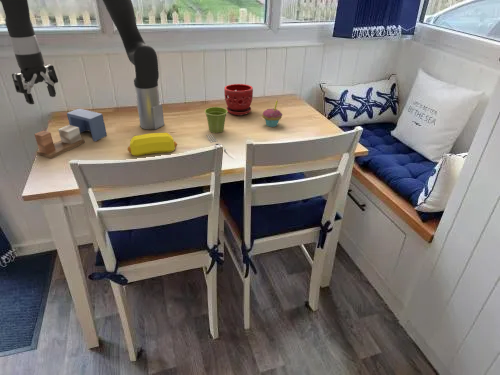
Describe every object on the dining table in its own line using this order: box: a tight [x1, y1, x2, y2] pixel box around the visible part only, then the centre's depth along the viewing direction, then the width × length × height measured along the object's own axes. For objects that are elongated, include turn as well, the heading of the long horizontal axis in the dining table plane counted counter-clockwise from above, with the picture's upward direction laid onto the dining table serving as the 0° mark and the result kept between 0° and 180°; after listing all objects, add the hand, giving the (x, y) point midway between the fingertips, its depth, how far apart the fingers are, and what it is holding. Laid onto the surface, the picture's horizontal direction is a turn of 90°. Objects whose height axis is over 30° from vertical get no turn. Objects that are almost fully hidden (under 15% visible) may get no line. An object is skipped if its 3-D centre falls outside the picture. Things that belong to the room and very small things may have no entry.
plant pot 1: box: [204, 106, 229, 134], centre depth 150 cm, size 9×9×9 cm
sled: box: [34, 124, 85, 160], centre depth 133 cm, size 7×15×8 cm, turn 154°
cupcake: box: [261, 99, 283, 128], centre depth 156 cm, size 9×8×12 cm
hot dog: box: [127, 132, 178, 157], centre depth 134 cm, size 18×7×8 cm
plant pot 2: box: [224, 83, 254, 116], centre depth 169 cm, size 13×13×12 cm
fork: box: [206, 134, 227, 152], centre depth 138 cm, size 3×24×2 cm, turn 31°
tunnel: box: [66, 108, 108, 142], centre depth 143 cm, size 12×7×9 cm, turn 64°
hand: (42, 100), depth 124 cm, fingers open, 8 cm apart
